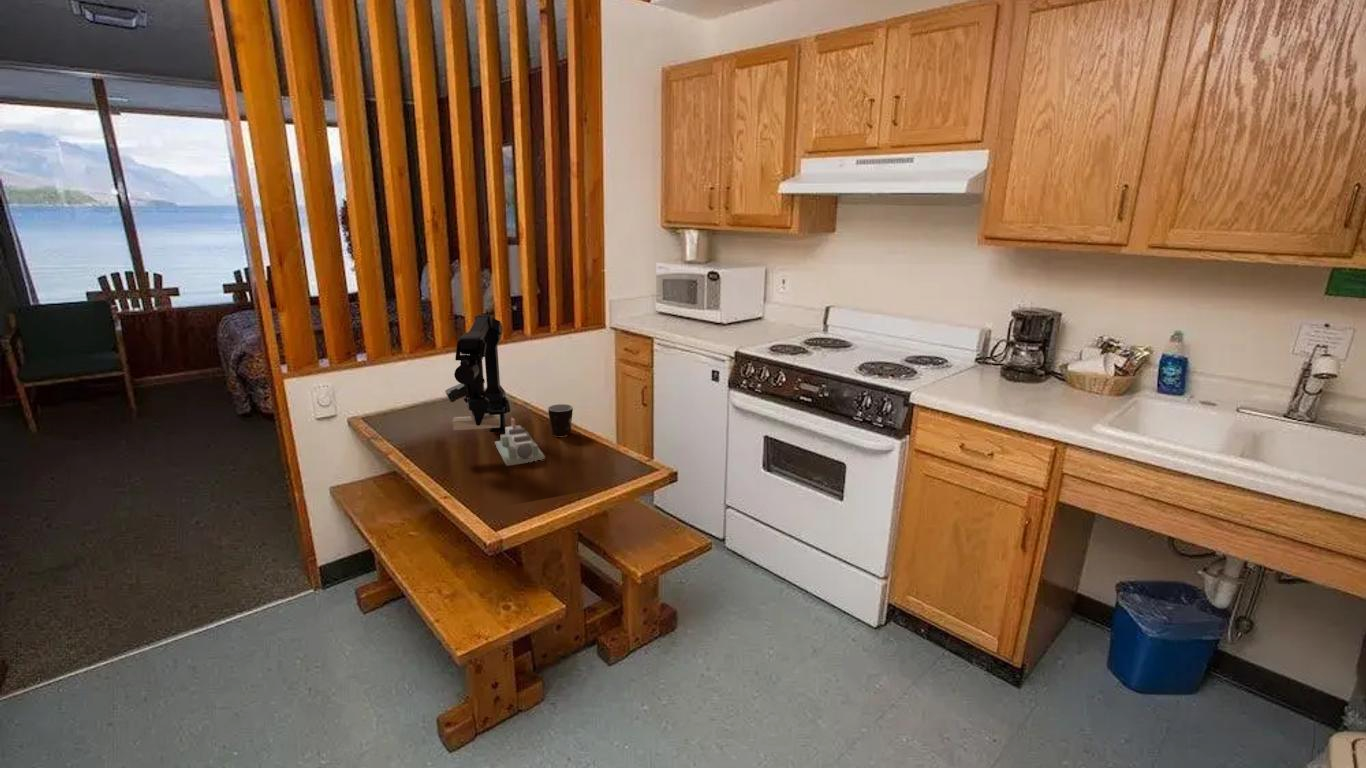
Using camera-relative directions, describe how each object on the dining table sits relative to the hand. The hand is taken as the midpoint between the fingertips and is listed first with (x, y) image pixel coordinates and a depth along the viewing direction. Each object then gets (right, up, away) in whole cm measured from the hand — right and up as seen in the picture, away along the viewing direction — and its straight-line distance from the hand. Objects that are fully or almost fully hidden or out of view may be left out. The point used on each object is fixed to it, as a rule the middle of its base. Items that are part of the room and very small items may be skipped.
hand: (477, 423), depth 193 cm
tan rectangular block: (0, -1, 0) cm, 1 cm away
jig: (+11, -10, +7) cm, 17 cm away
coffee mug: (+21, -6, +23) cm, 32 cm away
